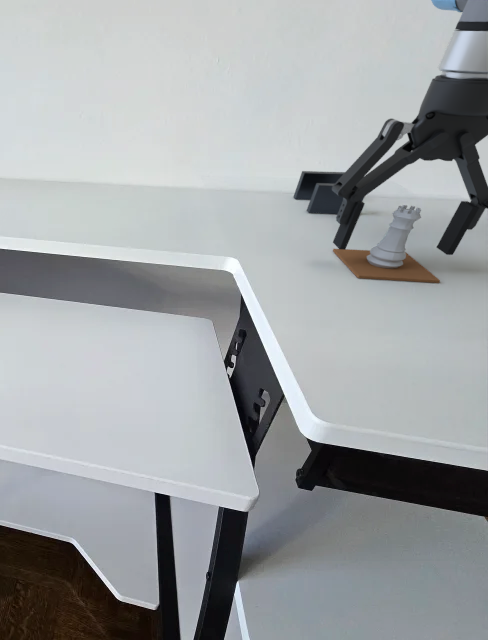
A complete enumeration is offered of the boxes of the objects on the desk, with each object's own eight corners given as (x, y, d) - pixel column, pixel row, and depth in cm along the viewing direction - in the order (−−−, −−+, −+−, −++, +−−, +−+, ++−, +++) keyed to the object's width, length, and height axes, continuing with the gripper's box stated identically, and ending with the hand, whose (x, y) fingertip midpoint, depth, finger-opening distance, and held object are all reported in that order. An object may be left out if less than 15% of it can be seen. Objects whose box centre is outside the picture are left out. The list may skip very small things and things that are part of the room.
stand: (337, 198, 97) (347, 172, 94) (356, 215, 89) (368, 186, 86) (293, 197, 99) (302, 170, 96) (308, 213, 91) (319, 185, 88)
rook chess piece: (406, 271, 69) (435, 214, 64) (369, 267, 70) (396, 211, 66) (395, 258, 73) (423, 204, 68) (361, 255, 74) (385, 201, 69)
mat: (404, 254, 75) (405, 252, 75) (439, 283, 67) (440, 280, 67) (332, 250, 77) (333, 248, 76) (357, 278, 69) (359, 275, 68)
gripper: (576, 70, 58) (475, 243, 71) (345, 72, 63) (289, 234, 75) (628, 77, 52) (508, 264, 65) (370, 78, 57) (304, 253, 69)
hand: (390, 248), depth 70 cm, fingers open, 13 cm apart
